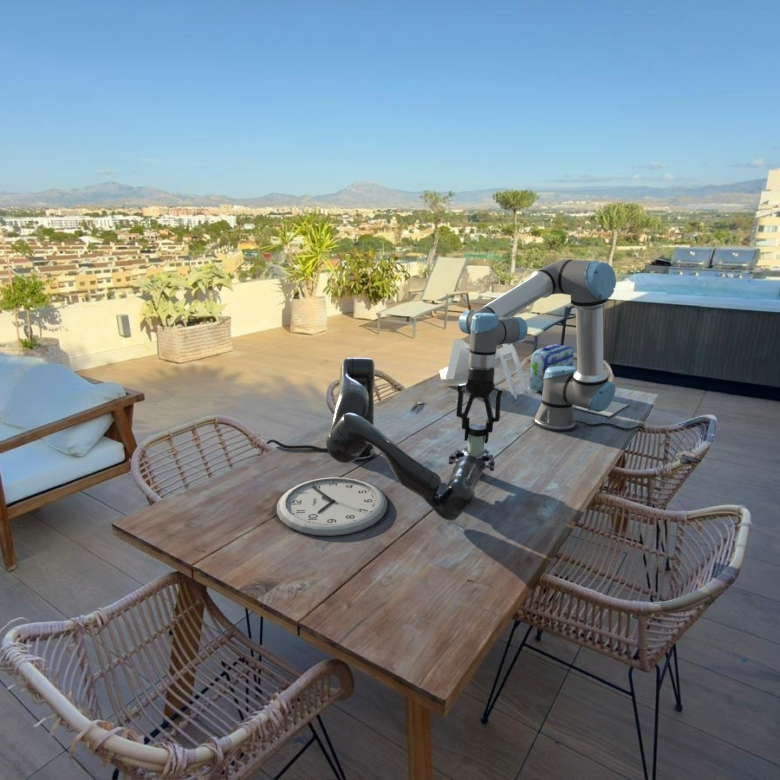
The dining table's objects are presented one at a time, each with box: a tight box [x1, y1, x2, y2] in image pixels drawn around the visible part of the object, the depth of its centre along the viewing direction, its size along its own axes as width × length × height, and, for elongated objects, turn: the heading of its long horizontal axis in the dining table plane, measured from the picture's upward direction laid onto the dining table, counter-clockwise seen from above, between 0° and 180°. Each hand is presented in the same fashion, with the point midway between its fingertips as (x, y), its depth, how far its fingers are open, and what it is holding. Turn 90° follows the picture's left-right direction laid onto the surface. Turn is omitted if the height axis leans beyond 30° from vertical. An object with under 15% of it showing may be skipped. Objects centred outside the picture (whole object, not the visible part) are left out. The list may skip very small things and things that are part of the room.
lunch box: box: [528, 344, 574, 393], centre depth 247 cm, size 26×11×21 cm, turn 134°
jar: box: [467, 434, 485, 477], centre depth 160 cm, size 5×5×15 cm
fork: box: [410, 395, 425, 412], centre depth 222 cm, size 3×16×2 cm, turn 160°
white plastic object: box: [438, 338, 531, 400], centre depth 245 cm, size 37×45×31 cm
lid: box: [468, 422, 486, 436], centre depth 158 cm, size 6×6×2 cm
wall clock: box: [276, 476, 388, 537], centre depth 142 cm, size 30×2×30 cm
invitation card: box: [573, 400, 629, 418], centre depth 226 cm, size 21×1×15 cm
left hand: (476, 450), depth 163 cm, fingers closed on jar, 5 cm apart
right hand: (476, 440), depth 159 cm, fingers closed on lid, 5 cm apart
